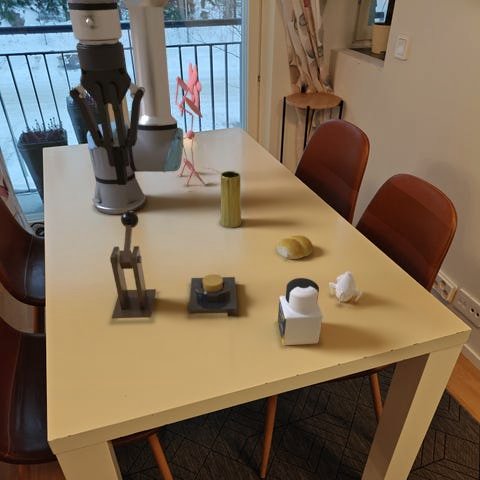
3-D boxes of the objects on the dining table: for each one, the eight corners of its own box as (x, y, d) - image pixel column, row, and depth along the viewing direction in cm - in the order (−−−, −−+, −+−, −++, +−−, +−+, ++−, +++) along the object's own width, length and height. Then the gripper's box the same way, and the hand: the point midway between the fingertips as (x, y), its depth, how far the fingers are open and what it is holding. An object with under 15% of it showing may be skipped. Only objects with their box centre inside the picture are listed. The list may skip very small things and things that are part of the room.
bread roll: (318, 253, 112) (320, 239, 109) (290, 263, 108) (292, 249, 105) (297, 240, 117) (299, 226, 115) (271, 249, 113) (272, 235, 111)
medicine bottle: (277, 322, 90) (281, 274, 82) (310, 321, 90) (317, 273, 83) (282, 346, 84) (287, 296, 77) (318, 344, 85) (326, 294, 77)
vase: (239, 228, 122) (239, 179, 113) (218, 226, 123) (216, 177, 114) (243, 219, 127) (243, 171, 118) (223, 217, 128) (222, 169, 119)
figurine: (189, 196, 139) (180, 72, 117) (172, 168, 158) (162, 58, 136) (234, 189, 143) (234, 69, 121) (213, 163, 162) (209, 55, 140)
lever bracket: (120, 294, 98) (109, 239, 89) (156, 293, 98) (148, 239, 89) (112, 322, 90) (99, 265, 81) (151, 321, 90) (141, 265, 81)
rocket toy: (327, 294, 98) (331, 264, 93) (349, 290, 99) (355, 261, 94) (337, 308, 94) (342, 277, 89) (360, 304, 95) (366, 274, 90)
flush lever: (123, 218, 93) (119, 207, 90) (140, 218, 93) (137, 207, 90) (118, 270, 87) (114, 260, 84) (136, 270, 87) (133, 260, 84)
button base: (192, 285, 100) (190, 270, 98) (234, 284, 101) (234, 269, 98) (189, 317, 91) (188, 302, 89) (236, 316, 92) (236, 301, 89)
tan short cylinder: (202, 281, 95) (202, 274, 94) (222, 280, 96) (222, 274, 94) (202, 292, 92) (202, 286, 91) (223, 292, 92) (223, 285, 91)
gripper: (51, 44, 67) (85, 190, 82) (136, 44, 68) (154, 189, 83) (64, 38, 73) (93, 175, 88) (142, 38, 74) (158, 175, 88)
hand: (123, 182), depth 85 cm, fingers closed
